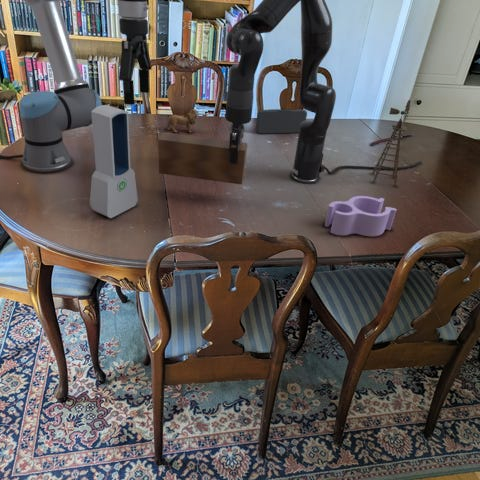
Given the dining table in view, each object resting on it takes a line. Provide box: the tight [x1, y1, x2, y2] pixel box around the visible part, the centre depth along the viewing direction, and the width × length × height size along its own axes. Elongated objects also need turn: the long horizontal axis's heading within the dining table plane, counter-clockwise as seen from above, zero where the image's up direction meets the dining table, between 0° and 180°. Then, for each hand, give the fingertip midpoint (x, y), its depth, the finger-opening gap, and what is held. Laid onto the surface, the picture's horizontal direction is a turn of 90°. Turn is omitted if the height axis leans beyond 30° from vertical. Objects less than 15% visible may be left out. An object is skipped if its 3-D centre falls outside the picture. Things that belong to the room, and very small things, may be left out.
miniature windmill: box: [371, 99, 411, 187], centre depth 166 cm, size 9×8×30 cm
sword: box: [370, 134, 411, 146], centre depth 212 cm, size 31×3×1 cm, turn 126°
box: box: [157, 131, 248, 185], centre depth 142 cm, size 26×6×11 cm, turn 83°
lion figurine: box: [163, 108, 200, 133], centre depth 195 cm, size 15×5×9 cm, turn 110°
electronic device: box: [89, 104, 139, 219], centre depth 131 cm, size 12×8×30 cm, turn 148°
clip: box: [324, 195, 398, 237], centre depth 141 cm, size 20×12×7 cm, turn 109°
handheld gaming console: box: [255, 108, 308, 134], centre depth 205 cm, size 23×3×10 cm, turn 108°
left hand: (137, 98), depth 136 cm, fingers open, 13 cm apart
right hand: (234, 158), depth 141 cm, fingers closed on box, 6 cm apart
